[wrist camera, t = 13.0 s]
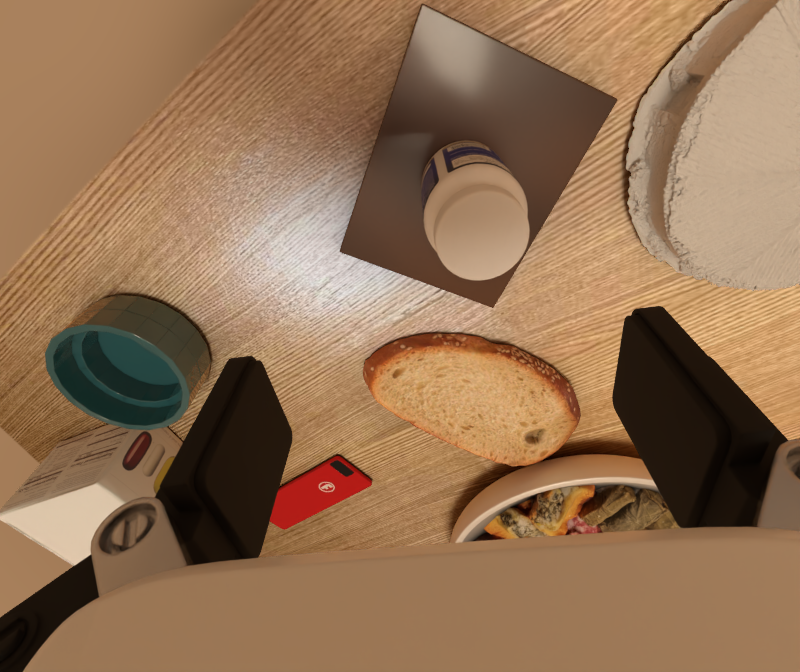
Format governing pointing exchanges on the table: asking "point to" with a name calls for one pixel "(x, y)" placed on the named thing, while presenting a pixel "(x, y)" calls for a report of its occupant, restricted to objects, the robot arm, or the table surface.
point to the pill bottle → (474, 211)
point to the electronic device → (317, 491)
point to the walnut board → (474, 121)
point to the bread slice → (475, 395)
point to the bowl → (566, 501)
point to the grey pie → (724, 151)
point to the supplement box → (88, 486)
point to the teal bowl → (129, 362)
